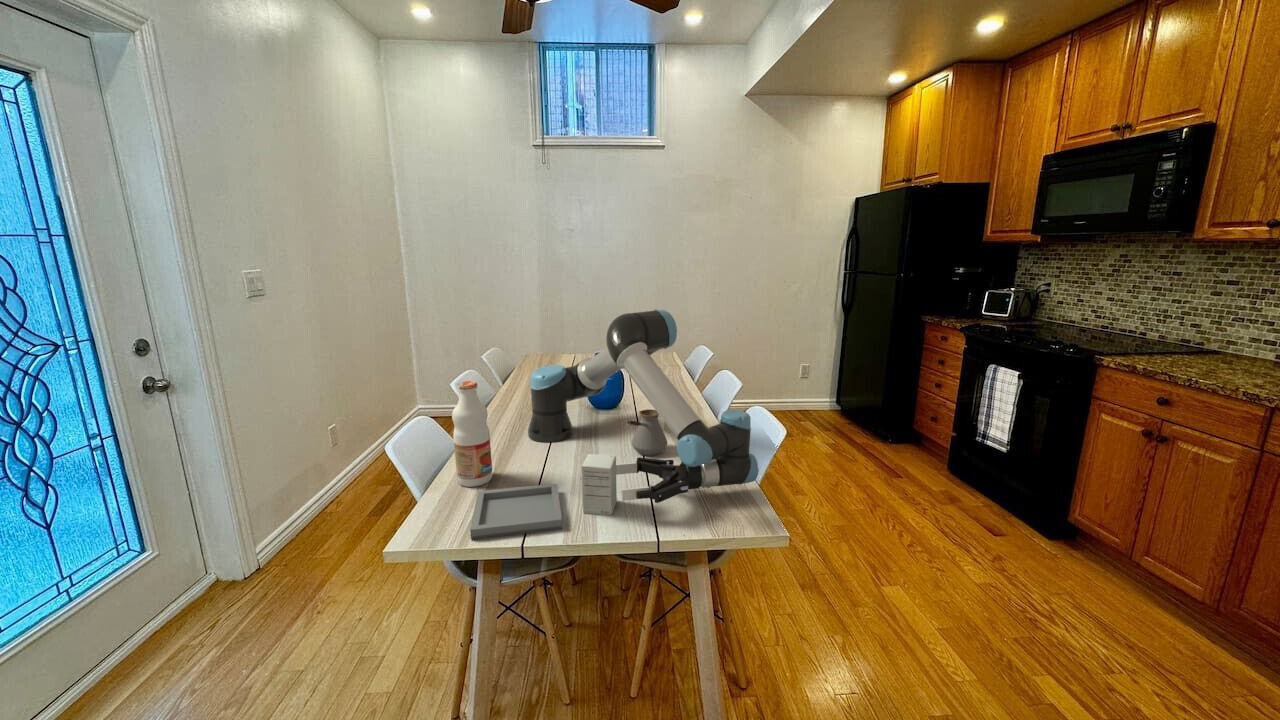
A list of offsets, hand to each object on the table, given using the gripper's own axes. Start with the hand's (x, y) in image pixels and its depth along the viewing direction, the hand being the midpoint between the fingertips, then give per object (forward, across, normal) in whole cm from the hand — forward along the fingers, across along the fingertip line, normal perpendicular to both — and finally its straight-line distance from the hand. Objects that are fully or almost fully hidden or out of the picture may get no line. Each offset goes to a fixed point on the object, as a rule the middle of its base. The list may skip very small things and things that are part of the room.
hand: (616, 481), depth 123 cm
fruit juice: (+36, +23, -7) cm, 43 cm away
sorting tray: (+24, +2, -7) cm, 25 cm away
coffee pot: (-13, +28, -7) cm, 31 cm away
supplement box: (+4, +1, -7) cm, 8 cm away
